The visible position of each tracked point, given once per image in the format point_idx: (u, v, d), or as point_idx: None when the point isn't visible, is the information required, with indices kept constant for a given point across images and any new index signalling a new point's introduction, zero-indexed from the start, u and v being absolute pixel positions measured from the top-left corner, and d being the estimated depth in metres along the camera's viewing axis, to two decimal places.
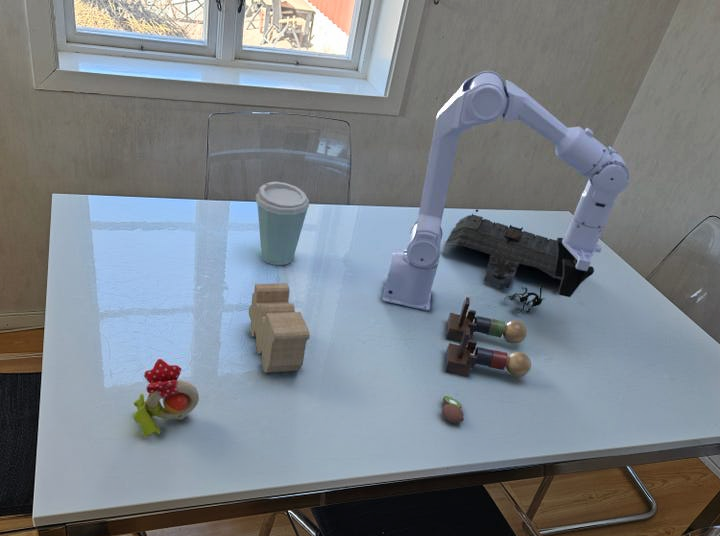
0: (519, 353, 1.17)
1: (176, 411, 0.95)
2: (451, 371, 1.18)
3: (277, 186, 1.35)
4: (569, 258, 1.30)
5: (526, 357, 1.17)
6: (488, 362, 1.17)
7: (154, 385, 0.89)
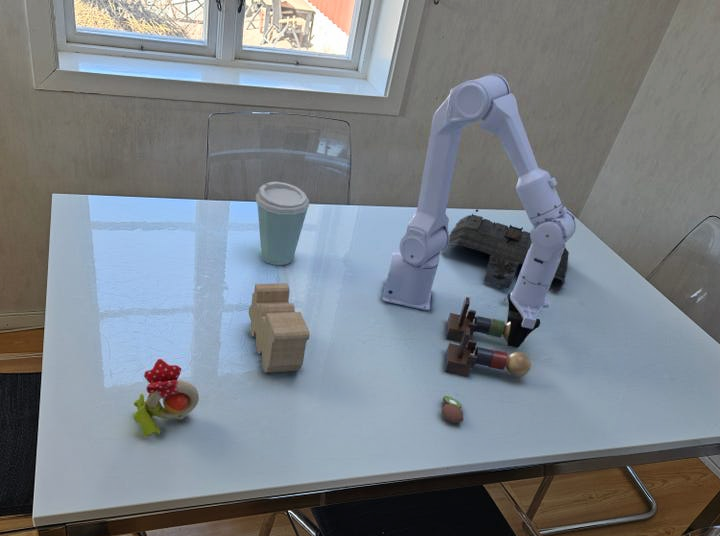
0: (519, 353, 1.17)
1: (176, 411, 0.95)
2: (451, 371, 1.18)
3: (277, 186, 1.35)
4: None
5: (526, 357, 1.17)
6: (488, 362, 1.17)
7: (154, 385, 0.89)
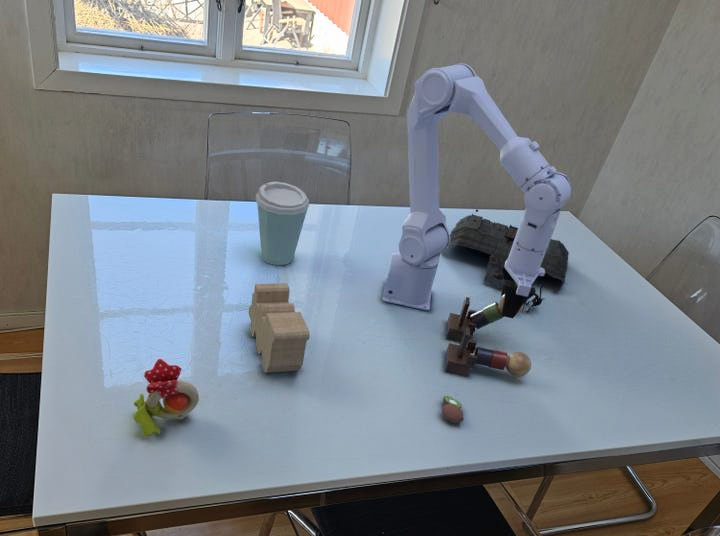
0: (519, 353, 1.17)
1: (176, 411, 0.95)
2: (451, 371, 1.18)
3: (277, 186, 1.35)
4: None
5: (526, 357, 1.17)
6: (488, 362, 1.17)
7: (154, 385, 0.89)
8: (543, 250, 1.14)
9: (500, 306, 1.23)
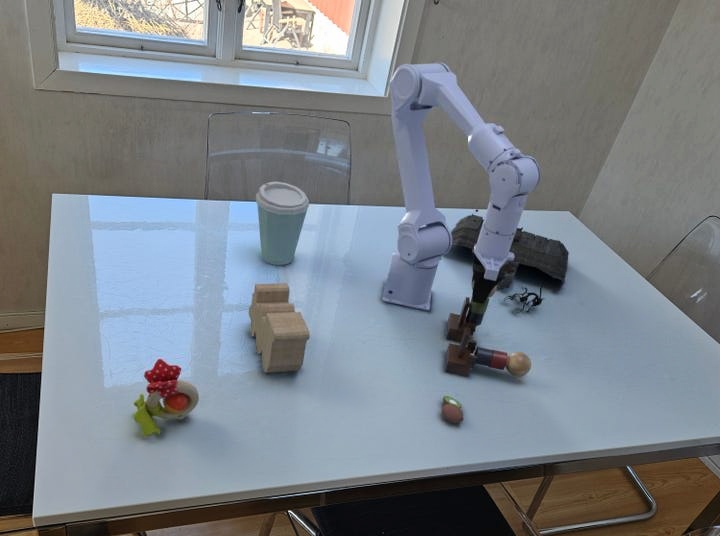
0: (519, 353, 1.17)
1: (176, 411, 0.95)
2: (451, 371, 1.18)
3: (277, 186, 1.35)
4: None
5: (526, 357, 1.17)
6: (488, 362, 1.17)
7: (154, 385, 0.89)
8: (511, 234, 1.13)
9: None
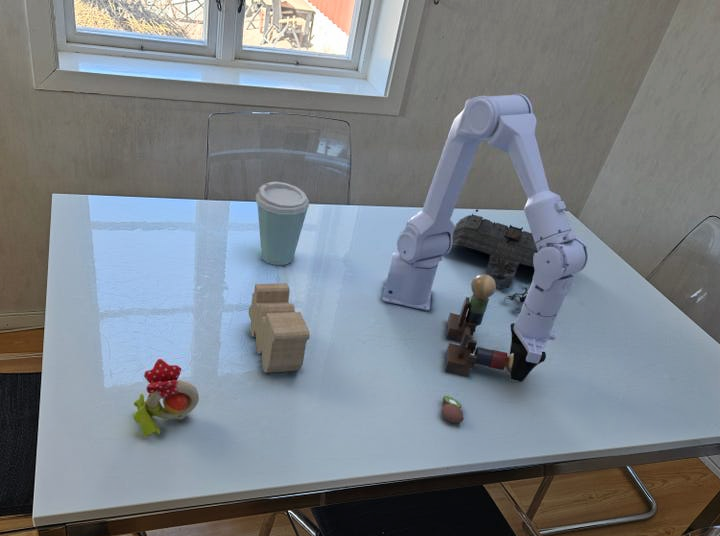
0: None
1: (176, 411, 0.95)
2: (451, 371, 1.18)
3: (277, 186, 1.35)
4: None
5: None
6: (488, 362, 1.17)
7: (154, 385, 0.89)
8: (554, 315, 1.09)
9: (476, 295, 1.22)
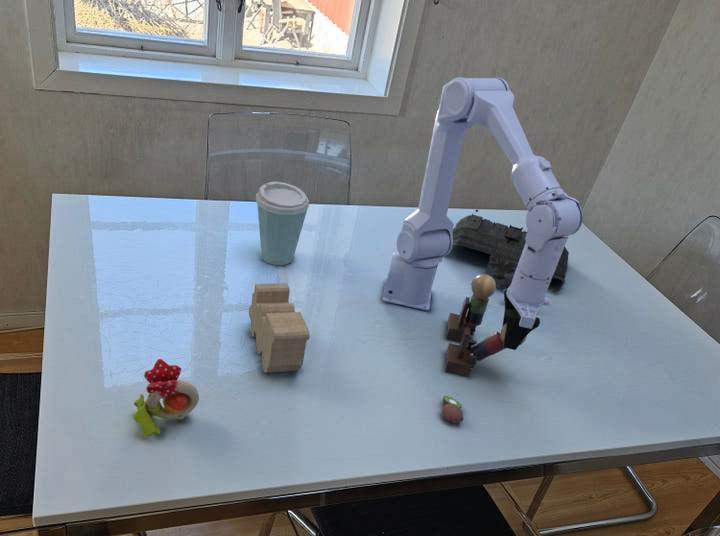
0: (505, 325, 1.14)
1: (176, 411, 0.95)
2: (451, 371, 1.18)
3: (277, 186, 1.35)
4: None
5: None
6: (486, 352, 1.16)
7: (154, 385, 0.89)
8: (548, 278, 1.05)
9: (476, 295, 1.22)
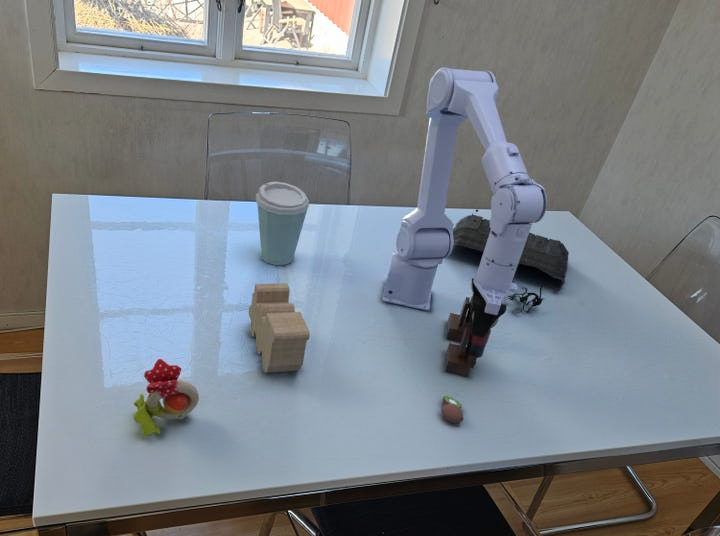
0: (472, 315, 1.14)
1: (176, 411, 0.95)
2: (451, 371, 1.18)
3: (277, 186, 1.35)
4: None
5: None
6: (477, 347, 1.16)
7: (154, 385, 0.89)
8: (514, 264, 1.05)
9: None
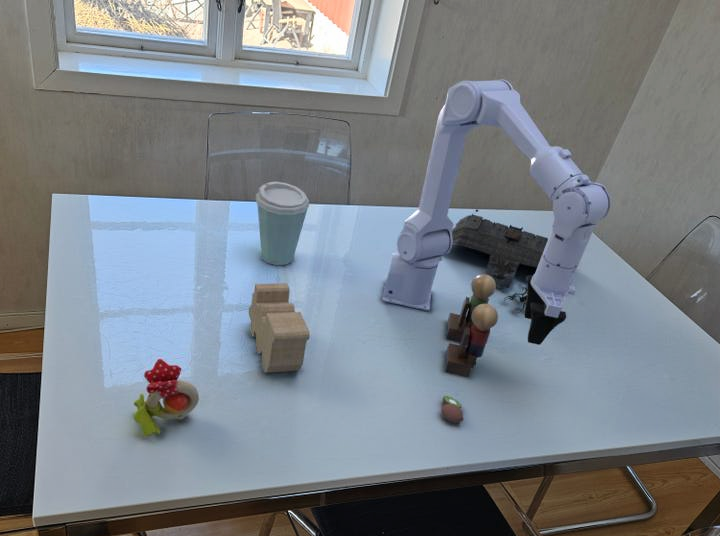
0: None
1: (176, 411, 0.95)
2: (451, 371, 1.18)
3: (277, 186, 1.35)
4: (540, 299, 1.14)
5: (474, 311, 1.13)
6: (476, 347, 1.16)
7: (154, 385, 0.89)
8: (574, 267, 1.04)
9: (476, 295, 1.22)
